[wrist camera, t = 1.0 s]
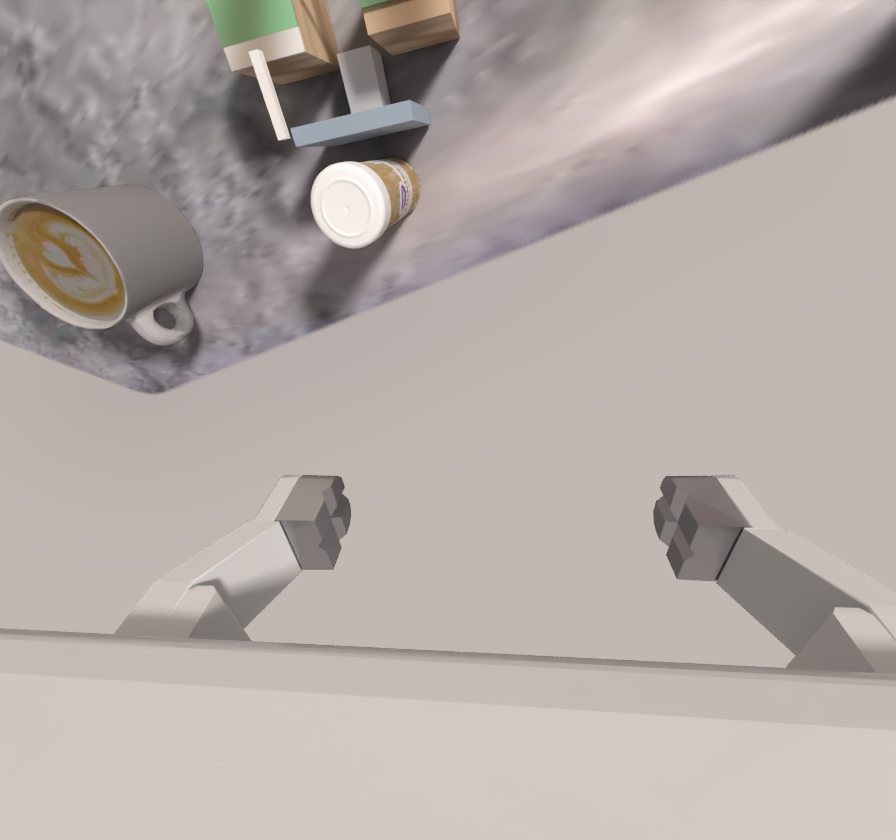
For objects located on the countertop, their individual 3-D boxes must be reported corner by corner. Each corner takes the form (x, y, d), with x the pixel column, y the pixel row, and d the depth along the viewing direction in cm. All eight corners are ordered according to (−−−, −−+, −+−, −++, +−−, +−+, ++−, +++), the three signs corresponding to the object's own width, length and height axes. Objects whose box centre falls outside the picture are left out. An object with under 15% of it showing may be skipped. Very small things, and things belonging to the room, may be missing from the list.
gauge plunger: (417, 42, 29) (392, 10, 22) (430, 124, 31) (411, 119, 24) (305, 72, 30) (248, 51, 23) (327, 147, 33) (281, 149, 26)
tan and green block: (450, -44, 26) (436, -98, 20) (460, 38, 28) (449, 10, 22) (260, 14, 29) (198, -20, 23) (282, 84, 31) (232, 71, 25)
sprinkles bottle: (426, 210, 35) (394, 242, 24) (377, 221, 36) (325, 257, 25) (413, 149, 33) (370, 153, 22) (361, 163, 33) (295, 173, 22)
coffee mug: (76, 199, 37) (-40, 216, 29) (162, 171, 35) (62, 180, 27) (164, 331, 45) (90, 373, 37) (239, 314, 43) (178, 355, 34)
